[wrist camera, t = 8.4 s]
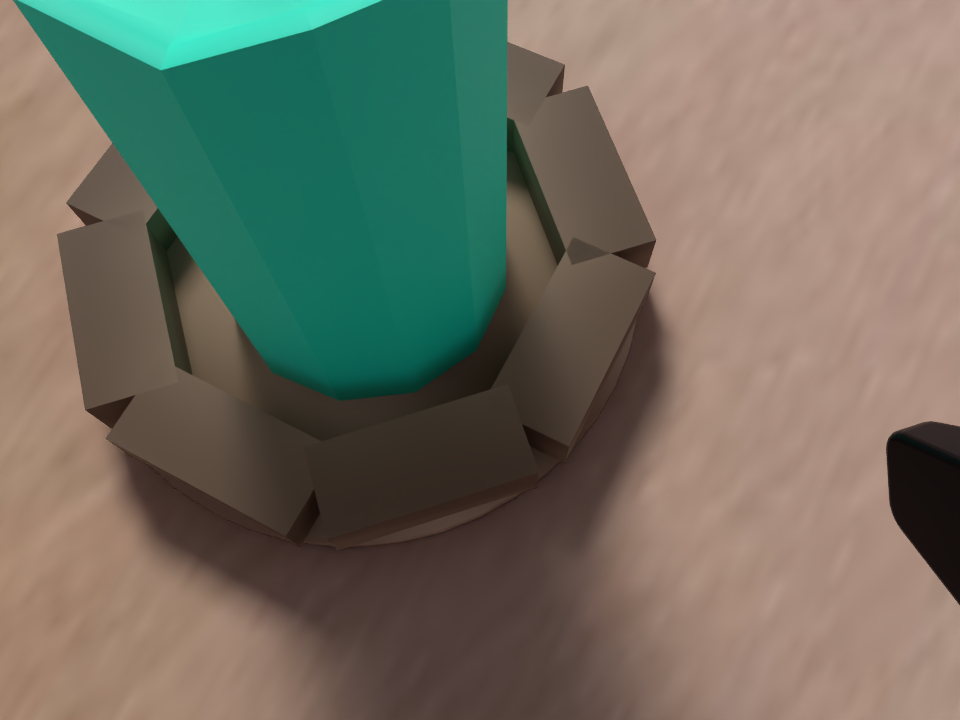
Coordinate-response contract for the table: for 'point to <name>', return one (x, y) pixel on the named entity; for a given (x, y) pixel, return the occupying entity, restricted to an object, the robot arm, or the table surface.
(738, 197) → the table surface
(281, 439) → the ring seat
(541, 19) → the table surface
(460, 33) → the candle
